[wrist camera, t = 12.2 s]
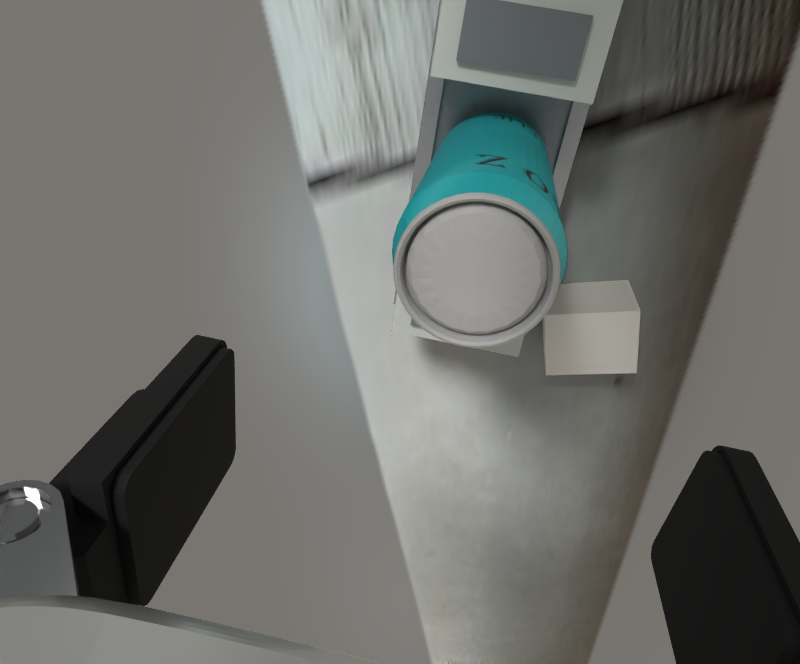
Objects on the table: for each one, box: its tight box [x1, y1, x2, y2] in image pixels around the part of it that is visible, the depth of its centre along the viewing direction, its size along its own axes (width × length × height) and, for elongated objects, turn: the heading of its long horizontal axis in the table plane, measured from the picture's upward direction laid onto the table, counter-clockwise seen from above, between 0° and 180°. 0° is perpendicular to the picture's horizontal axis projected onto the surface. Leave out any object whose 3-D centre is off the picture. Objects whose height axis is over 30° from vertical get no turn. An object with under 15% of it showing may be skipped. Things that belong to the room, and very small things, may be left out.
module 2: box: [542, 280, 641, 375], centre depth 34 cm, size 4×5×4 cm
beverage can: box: [392, 112, 567, 348], centre depth 25 cm, size 6×6×15 cm
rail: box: [394, 0, 590, 304], centre depth 32 cm, size 18×8×2 cm, turn 172°
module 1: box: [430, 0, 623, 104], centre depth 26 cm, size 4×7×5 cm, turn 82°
